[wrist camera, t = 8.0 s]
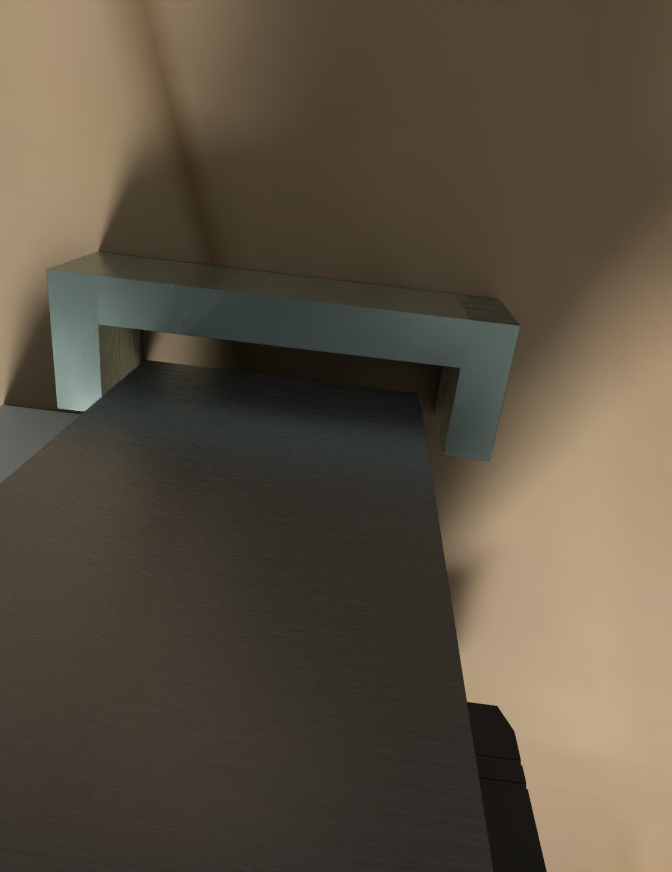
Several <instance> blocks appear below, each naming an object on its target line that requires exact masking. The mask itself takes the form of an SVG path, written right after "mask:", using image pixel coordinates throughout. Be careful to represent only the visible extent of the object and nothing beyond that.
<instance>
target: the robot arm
mask: <svg viewBox="0 0 672 872" xmlns="http://www.w3.org/2000/svg"><path fill="white" fill-rule="evenodd" d="M467 706H468V712H469V719H470V725H471V731H472V738H473V744H474V751H475V757H476V763H477V770H478V776H479V783H480V789H481V795H482V802H483V808H484V815H485V821H486V827H487V834H488V840H489V847H490V853H491V860H492V866H493V872H547V871H546V867H545V863H544V858H543V854H542V850H541V845H540V841H539V837H538V832H537V828H536V824H535V819H534V815H533V810H532V806H531V802H530V797H529V793H528V789H526V780H525V776H524V771H523V767H522V765H521V758H520V754H519V750H518V745H517V741H516V736H515V732H514V730H513V729H512V727H511V726H510V724H509V723H508V721H507V720H506V718H505V717H504V715H503V714H502V712H501V711H500V709H499V708H498V706H494V705H486V704H478V703H471V702H467Z"/></svg>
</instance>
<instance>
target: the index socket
mask: <svg viewBox="0 0 672 872" xmlns="http://www.w3.org/2000/svg"><path fill="white" fill-rule="evenodd" d="M46 273H47V285H48V297H49V310H50V322H51V334H52V346H53V359H54V371H55V383H56V395H57V408H60V409H68V410H76V411H86V410H87V409H88V408H89V407H90V406H91V405H93V404H94V403H95V402H96V401H97V400H98V399H100V398H101V397H102V396H103V395H104V394H105V393H107V392H108V391H109V390H110V389H111V388H112V387H114V386H115V385H116V384H117V383H118V382H119V381H121V380H122V379H123V378H124V377H125V376H126V375H128V374H129V373H130V372H131V371H132V370H133V369H135V368H136V367H137V366H138V365H139V364H140V363H141V330H149V331H157V332H165V333H174V334H182V335H190V336H199V337H207V338H215V339H224V340H232V341H240V342H248V343H257V344H265V345H273V346H282V347H290V348H298V349H307V350H315V351H323V352H332V353H340V354H348V355H357V356H365V357H373V358H381V359H390V360H398V361H406V362H415V363H423V364H431V365H440V366H443V369H442V375H441V380H440V386H439V391H438V397H437V402H436V407H435V417H436V422H437V427H438V432H439V436H440V441H441V446H442V451H443V456H451V457H460V458H468V459H476V460H484V461H490V456H491V452H492V448H493V443H494V439H495V434H496V430H497V426H498V421H499V417H500V413H501V408H502V404H503V399H504V395H505V391H506V386H507V382H508V378H509V373H510V369H511V365H512V360H513V356H514V351H515V347H516V343H517V338H518V334H519V330H520V325H519V324H518V322H517V321H516V320H515V319H514V318H513V316H512V315H511V314H510V313H509V311H508V310H507V309H506V308H505V306H504V305H503V304H502V303H501V302H500V300H499V299H491V298H482V297H474V296H465V295H457V294H448V293H440V292H432V291H423V290H415V289H406V288H398V287H389V286H381V285H373V284H364V283H356V282H347V281H339V280H330V279H322V278H313V277H305V276H297V275H288V274H280V273H271V272H263V271H254V270H246V269H237V268H229V267H221V266H212V265H204V264H195V263H187V262H178V261H170V260H162V259H153V258H145V257H136V256H128V255H119V254H111V253H102V252H95V253H92V254H90V255H87V256H84V257H81V258H78V259H75V260H72V261H69V262H66V263H64V264H61V265H58V266H55V267H52V268H49V269H46Z"/></svg>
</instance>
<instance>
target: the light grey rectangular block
mask: <svg viewBox="0 0 672 872" xmlns="http://www.w3.org/2000/svg"><path fill="white" fill-rule="evenodd" d="M80 415H81V414H73V413H65V412H57V411H49V410H41V409H33V408H24V407H16V406H8V405H1V406H0V483H2V482H3V481H4V480H5V479H6V478H7V477H9V476H10V475H11V474H12V473H13V472H14V471H16V470H17V469H18V468H19V467H20V466H21V465H23V464H24V463H25V462H26V461H27V460H28V459H30V458H31V457H32V456H33V455H34V454H35V453H37V452H38V451H39V450H40V449H41V448H42V447H44V446H45V445H46V444H47V443H48V442H49V441H51V440H52V439H53V438H54V437H55V436H56V435H58V434H59V433H60V432H61V431H62V430H63V429H65V428H66V427H67V426H68V425H69V424H70V423H72V422H73V421H74V420H75V419H76V418H77V417H79V416H80Z"/></svg>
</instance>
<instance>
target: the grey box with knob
mask: <svg viewBox="0 0 672 872" xmlns="http://www.w3.org/2000/svg"><path fill="white" fill-rule="evenodd" d="M0 872H493V866H492V860H491V853H490V847H489V840H488V834H487V827H486V821H485V815H484V808H483V802H482V795H481V789H480V783H479V776H478V770H477V763H476V757H475V751H474V744H473V738H472V731H471V725H470V719H469V712H468V706H467V699H466V693H465V686H464V680H463V674H462V667H461V661H460V654H459V648H458V642H457V635H456V629H455V622H454V616H453V610H452V603H451V597H450V590H449V584H448V578H447V571H446V565H445V558H444V552H443V545H442V539H441V533H440V526H439V520H438V513H437V507H436V501H435V494H434V488H433V481H432V475H431V469H430V462H429V456H428V449H427V443H426V437H425V430H424V424H423V417H422V411H421V404H420V398H419V393H413V392H405V391H397V390H388V389H380V388H372V387H364V386H355V385H347V384H339V383H331V382H323V381H314V380H306V379H298V378H290V377H281V376H273V375H265V374H257V373H248V372H240V371H232V370H224V369H216V368H207V367H199V366H191V365H183V364H174V363H166V362H158V361H150V360H144V361H143V362H142V363H140V364H139V365H138V366H137V367H136V368H135V369H133V370H132V371H131V372H130V373H129V374H128V375H126V376H125V377H124V378H123V379H122V380H121V381H119V382H118V383H117V384H116V385H115V386H114V387H112V388H111V389H110V390H109V391H108V392H107V393H105V394H104V395H103V396H102V397H101V398H100V399H98V400H97V401H96V402H95V403H94V404H93V405H91V406H90V407H89V408H88V409H87V410H86V411H84V412H83V413H82V414H81V415H80V416H79V417H77V418H76V419H75V420H74V421H73V422H72V423H70V424H69V425H68V426H67V427H66V428H65V429H63V430H62V431H61V432H60V433H59V434H58V435H56V436H55V437H54V438H53V439H52V440H51V441H49V442H48V443H47V444H46V445H45V446H44V447H42V448H41V449H40V450H39V451H38V452H37V453H35V454H34V455H33V456H32V457H31V458H30V459H28V460H27V461H26V462H25V463H24V464H23V465H21V466H20V467H19V468H18V469H17V470H16V471H14V472H13V473H12V474H11V475H10V476H9V477H7V478H6V479H5V480H4V481H3V482H2V483H0Z"/></svg>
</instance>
